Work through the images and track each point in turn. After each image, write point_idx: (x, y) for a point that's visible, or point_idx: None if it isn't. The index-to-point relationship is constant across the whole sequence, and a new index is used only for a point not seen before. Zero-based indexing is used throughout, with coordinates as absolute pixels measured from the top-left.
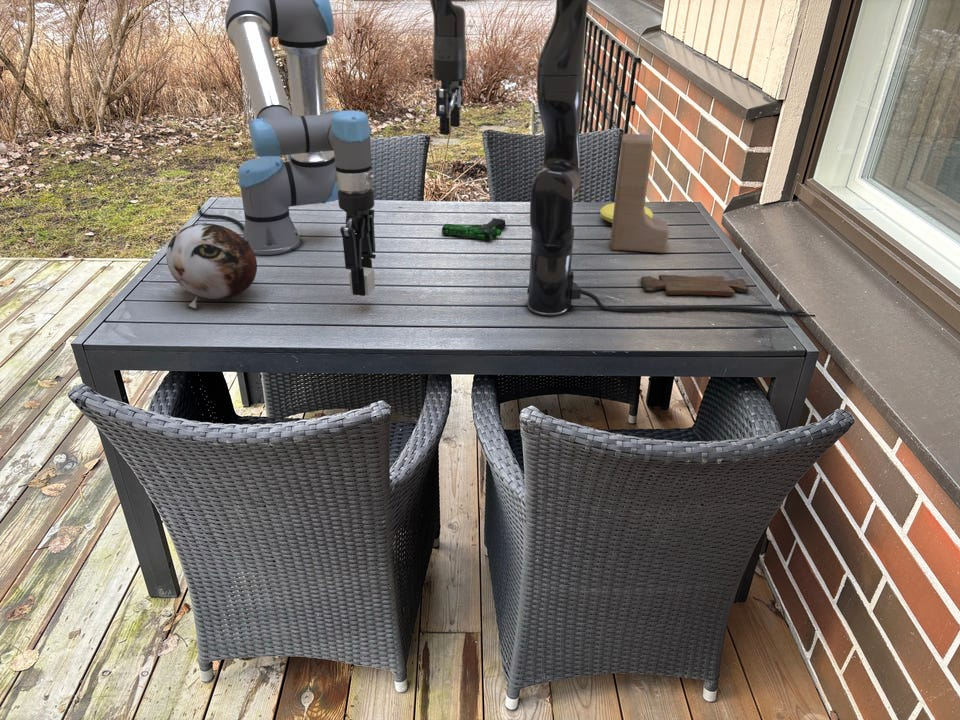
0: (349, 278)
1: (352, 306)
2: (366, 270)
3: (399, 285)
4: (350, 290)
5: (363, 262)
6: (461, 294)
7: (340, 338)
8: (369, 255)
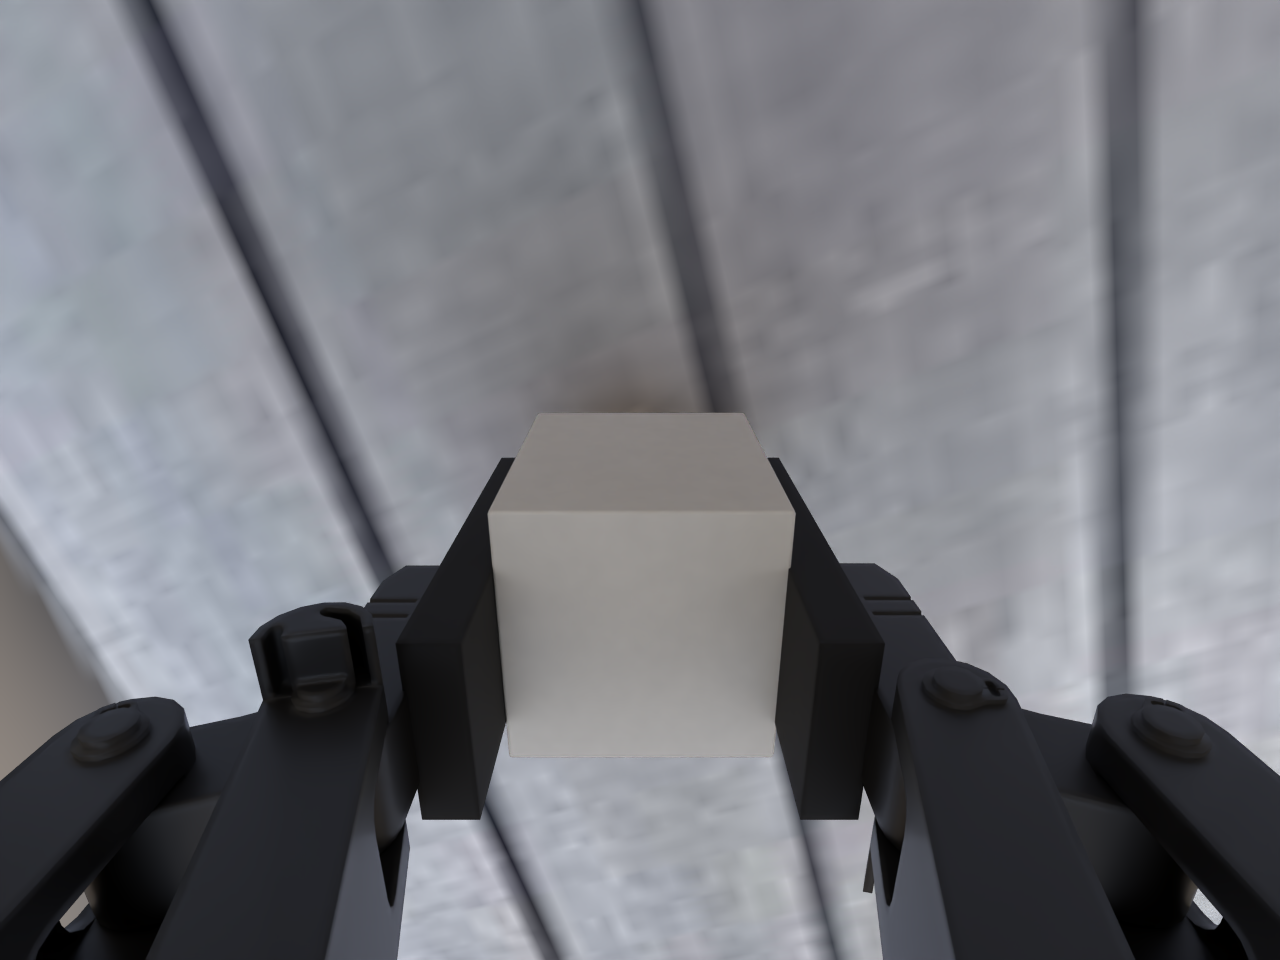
0: (505, 480)
1: (654, 330)
2: (679, 697)
3: (1124, 557)
4: (533, 424)
5: (802, 679)
6: None
7: (119, 456)
8: (874, 864)
